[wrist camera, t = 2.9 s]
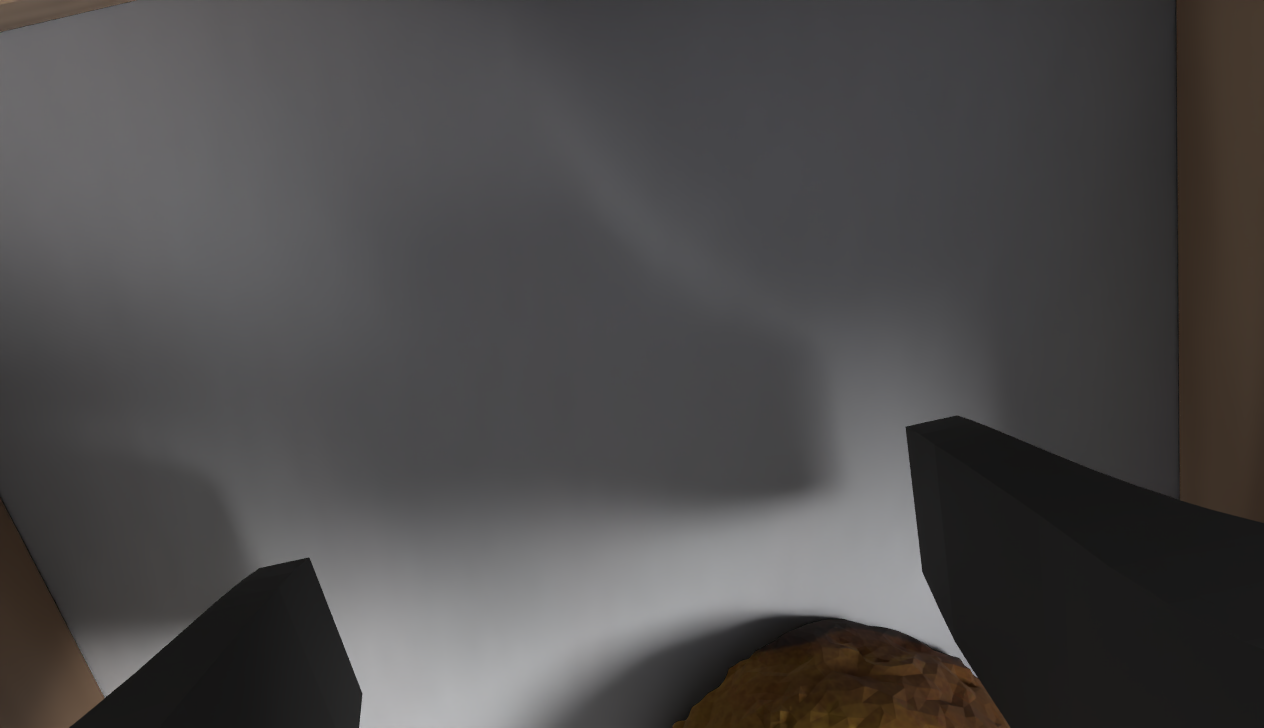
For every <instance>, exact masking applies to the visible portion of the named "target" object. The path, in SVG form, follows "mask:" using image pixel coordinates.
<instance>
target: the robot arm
mask: <svg viewBox="0 0 1264 728" xmlns="http://www.w3.org/2000/svg"><path fill="white" fill-rule="evenodd" d="M906 434H907V443H908V452H909V460H910V469H911V478H912V486H913V495H914V503H915V512H916V521H917V529H918V538H919V547H920V555H921V564H922V572H923V574H924V577H925V579H926V581H927V583H928V585H929V587H930V590H931V592H932V594H933V596H934V598H935V601H936V603H937V605H938V607H939V609H940V612H941V614H942V616H943V618H944V620H945V622H946V624H947V626H948V628H949V630H950V632H951V634H952V636H953V638H954V640H955V642H956V644H957V645H958V647H959V649H960V650H961V652H962V653H963V655H964V657H965V658H966V660H967V661H968V663H969V664H970V666H971V667H972V669H973V671H974V672H975V674H976V675H977V677H978V678H979V680H980V681H981V683H982V685H983V686H984V688H985V689H986V691H987V692H988V694H989V695H990V697H991V699H992V700H993V702H994V703H995V705H996V706H997V708H998V709H999V711H1000V712H1001V714H1002V715H1003V717H1004V718H1005V720H1006V721H1007V723H1008V725H1009V726H1010V728H1264V523H1262V522H1258V521H1254V520H1250V519H1246V518H1242V517H1238V516H1234V515H1230V514H1227V513H1223V512H1219V511H1215V510H1211V509H1208V508H1204V507H1201V506H1198V505H1194V504H1191V503H1188V502H1184V501H1181V500H1178V499H1175V498H1172V497H1169V496H1166V495H1163V494H1160V493H1157V492H1154V491H1151V490H1148V489H1145V488H1142V487H1139V486H1136V485H1133V484H1130V483H1127V482H1125V481H1122V480H1119V479H1117V478H1114V477H1111V476H1108V475H1106V474H1103V473H1100V472H1098V471H1095V470H1093V469H1090V468H1087V467H1085V466H1082V465H1080V464H1077V463H1075V462H1072V461H1070V460H1067V459H1065V458H1062V457H1060V456H1057V455H1055V454H1052V453H1050V452H1048V451H1045V450H1043V449H1040V448H1038V447H1036V446H1033V445H1031V444H1028V443H1026V442H1024V441H1021V440H1019V439H1016V438H1014V437H1012V436H1009V435H1007V434H1005V433H1002V432H1000V431H997V430H995V429H992V428H990V427H988V426H985V425H982V424H980V423H977V422H975V421H972V420H969V419H966V418H963V417H960V416H953V417H948V418H944V419H939V420H934V421H930V422H925V423H921V424H916V425H912V426H907V427H906ZM361 702H362V692H361V689H360V686H359V684H358V681H357V679H356V676H355V674H354V671H353V668H352V666H351V663H350V661H349V658H348V656H347V653H346V650H345V648H344V645H343V643H342V640H341V638H340V635H339V632H338V630H337V627H336V625H335V622H334V620H333V617H332V615H331V612H330V609H329V607H328V604H327V602H326V599H325V597H324V594H323V591H322V589H321V586H320V584H319V581H318V579H317V576H316V573H315V571H314V568H313V566H312V563H311V561H310V558H304V559H300V560H295V561H291V562H286V563H281V564H277V565H272V566H268V567H263V568H259V569H258V570H256V571H255V572H253V573H252V574H251V575H249V576H248V577H246V578H245V579H244V580H242V581H241V582H240V583H238V584H237V585H236V586H235V587H233V588H232V589H231V590H230V591H229V592H227V593H226V594H225V595H224V596H223V597H221V598H220V599H219V600H218V601H217V602H216V603H214V604H213V605H212V606H211V607H210V608H209V609H207V610H206V611H205V612H204V613H203V614H202V615H201V616H200V617H198V618H197V619H196V620H195V621H194V622H193V623H192V624H190V625H189V626H188V627H187V628H186V629H185V630H184V631H182V632H181V633H180V634H179V635H178V636H177V637H176V638H175V639H173V640H172V641H171V642H170V643H169V644H168V645H167V646H165V647H164V648H163V649H162V650H161V651H160V652H159V653H157V654H156V655H155V656H154V657H153V658H152V659H151V660H149V661H148V662H147V663H146V664H145V665H144V666H143V667H142V668H140V669H139V670H138V671H137V672H136V673H135V674H133V675H132V676H131V677H130V678H129V679H128V680H126V681H125V682H124V683H123V684H121V685H120V686H119V687H118V688H117V689H115V690H114V691H113V692H112V693H111V694H109V695H108V696H107V697H106V698H104V699H103V700H102V701H101V702H100V703H98V704H97V705H96V706H95V707H94V708H92V709H91V710H90V711H89V712H87V713H86V714H85V715H84V716H83V717H81V718H80V719H79V720H78V721H77V722H75V723H74V724H73V725H72V726H70V727H69V728H359V722H360V712H361Z"/></svg>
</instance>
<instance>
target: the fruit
mask: <svg viewBox="0 0 1264 728" xmlns="http://www.w3.org/2000/svg"><path fill="white" fill-rule="evenodd" d="M672 728H1010V726H1009V725H1008V723H1007V721H1006V720H1005V718H1004V717H1003V715H1002V714H1001V712H1000V711H999V709H998V708H997V706H996V705H995V703H994V702H993V700H992V699H991V697H990V695H989V694H988V692H987V691H986V689H985V688H984V686H983V685H982V683H981V681H980V680H979V678H977V677H975V676H974V675H973V674H972V672H971V670H970V669H969V668H967V667H966V666H964V664H963V663H962V661H961V660H960V659H959V658H957V657H953V656H950V655H946V654H944V653H940V652H937V651H934V650H932V649H931V648H930V647H929V646H927V645H926V644H924V643H922V642H920V641H918V640H917V639H915V638H912V637H910V636H908V635H906V634H904V633H901V632H899V631H896V630H892V629H888V628H882V627H875V626H867V625H863V624H860V623H855V622H851V621H847V620H843V619H825V620H821V621H817V622H814V623H810V624H805V625H804V626H802V627H800V628H797V629H794V630H791V631H789V632H787V633H785V634H783V635H782V636H780V637H779V638H778V639H777V640H775V641H773V642H772V643H770V644H768V645H766V646H764V647H763V648H761V649H759V650H757V651H755V652H754V653H753V654H752V656H751V657H750V658H749V659H746V660H743V661H740V662H738V663H737V664H736V665H735V666H733V667H731V668H729V670H728V673H727V676H726V678H725V680H724V682H723V683H722V684H721V685H720V687H718V688H717V689H715V690H713V691H711V692H709V693H708V694H707V695H706V696H705V697H704V698H703V699H702V700H701V701H700V702H699V703H697V704H696V705H695V706H693V707H692V708H691V711H690V713H689V716H688V718H687V719H686V720H683V721H677V722H676V723H674V724H673V726H672Z"/></svg>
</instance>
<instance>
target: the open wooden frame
mask: <svg viewBox="0 0 1264 728" xmlns="http://www.w3.org/2000/svg"><path fill="white" fill-rule="evenodd" d="M131 1H135V0H0V32H3V31H7V30H11V29H15V28H20V27H24V26H28V25H33V24H37V23H41V22H45V21H50V20H54V19H58V18H63V17H67V16H71V15H75V14H80V13H84V12H88V11H93V10H97V9H101V8H105V7H110V6H114V5H118V4H123V3H127V2H131ZM1176 18H1177V161H1178V304H1179V446H1180V500H1181V501H1184V502H1188V503H1191V504H1194V505H1198V506H1201V507H1204V508H1208V509H1211V510H1215V511H1219V512H1223V513H1227V514H1230V515H1234V516H1238V517H1242V518H1246V519H1250V520H1254V521H1258V522H1262V523H1264V0H1176ZM103 699H104V696H103V694H102V692H101V690H100V688H99V687H98V685H97V683H96V681H95V679H94V677H93V675H92V673H91V671H90V669H89V667H88V665H87V663H86V662H85V660H84V658H83V656H82V654H81V652H80V650H79V648H78V646H77V644H76V642H75V640H74V639H73V637H72V635H71V633H70V631H69V629H68V627H67V625H66V623H65V621H64V619H63V617H62V616H61V614H60V612H59V610H58V608H57V606H56V604H55V602H54V600H53V598H52V596H51V594H50V592H49V591H48V589H47V587H46V585H45V583H44V581H43V579H42V577H41V575H40V573H39V571H38V569H37V568H36V566H35V564H34V562H33V560H32V558H31V556H30V554H29V552H28V550H27V548H26V546H25V545H24V543H23V541H22V539H21V537H20V535H19V533H18V531H17V529H16V527H15V525H14V523H13V521H12V520H11V518H10V516H9V514H8V512H7V510H6V508H5V506H4V504H3V502H2V500H1V498H0V728H69V727H70V726H72V725H73V724H74V723H75V722H77V721H78V720H79V719H80V718H81V717H83V716H84V715H85V714H86V713H87V712H89V711H90V710H91V709H92V708H94V707H95V706H96V705H97V704H98V703H100V702H101V701H102V700H103Z"/></svg>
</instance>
